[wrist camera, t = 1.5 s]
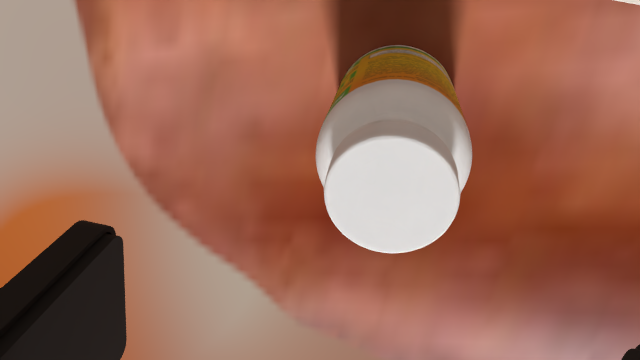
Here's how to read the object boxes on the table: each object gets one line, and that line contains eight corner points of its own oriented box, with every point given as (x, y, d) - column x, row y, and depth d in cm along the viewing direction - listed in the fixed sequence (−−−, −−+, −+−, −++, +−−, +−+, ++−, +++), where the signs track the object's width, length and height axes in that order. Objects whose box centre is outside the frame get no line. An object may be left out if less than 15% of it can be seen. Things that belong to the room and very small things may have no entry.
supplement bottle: (345, 35, 22) (306, 96, 13) (465, 50, 21) (509, 123, 12) (332, 145, 24) (293, 258, 15) (440, 161, 24) (462, 286, 15)
